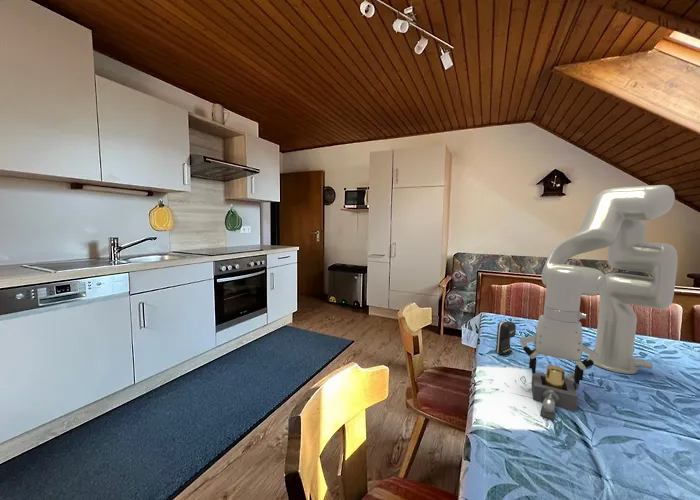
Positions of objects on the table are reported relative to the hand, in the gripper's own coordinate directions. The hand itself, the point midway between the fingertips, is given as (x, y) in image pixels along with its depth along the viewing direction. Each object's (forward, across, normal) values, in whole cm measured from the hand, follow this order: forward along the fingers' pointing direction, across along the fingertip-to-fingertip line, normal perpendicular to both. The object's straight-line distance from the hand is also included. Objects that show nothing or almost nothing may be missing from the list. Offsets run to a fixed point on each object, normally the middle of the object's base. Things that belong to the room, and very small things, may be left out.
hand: (554, 376), depth 79 cm
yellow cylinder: (+6, 0, 0) cm, 6 cm away
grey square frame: (+6, 0, 0) cm, 6 cm away
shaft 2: (+6, -4, -7) cm, 10 cm away
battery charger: (+6, +12, -25) cm, 28 cm away
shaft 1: (+6, +1, +8) cm, 10 cm away
